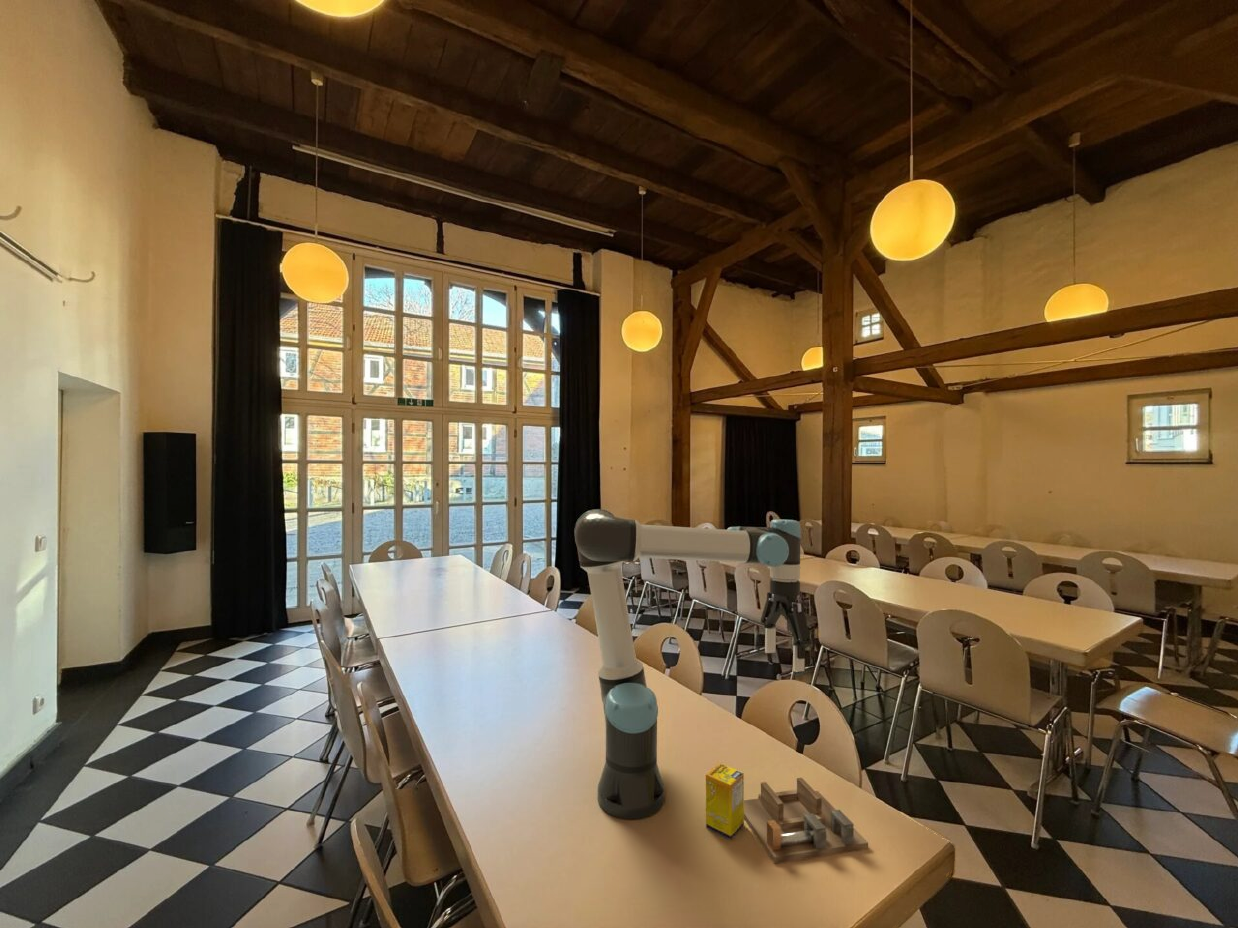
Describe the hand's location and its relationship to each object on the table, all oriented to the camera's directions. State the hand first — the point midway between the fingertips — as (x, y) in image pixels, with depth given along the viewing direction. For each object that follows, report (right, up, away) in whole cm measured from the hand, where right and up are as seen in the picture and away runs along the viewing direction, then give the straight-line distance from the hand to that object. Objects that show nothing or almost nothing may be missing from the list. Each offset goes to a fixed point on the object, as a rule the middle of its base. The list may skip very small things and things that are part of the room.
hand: (783, 661), depth 133 cm
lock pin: (-8, -22, -33) cm, 41 cm away
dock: (-6, -24, -27) cm, 36 cm away
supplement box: (-21, -24, -27) cm, 42 cm away
